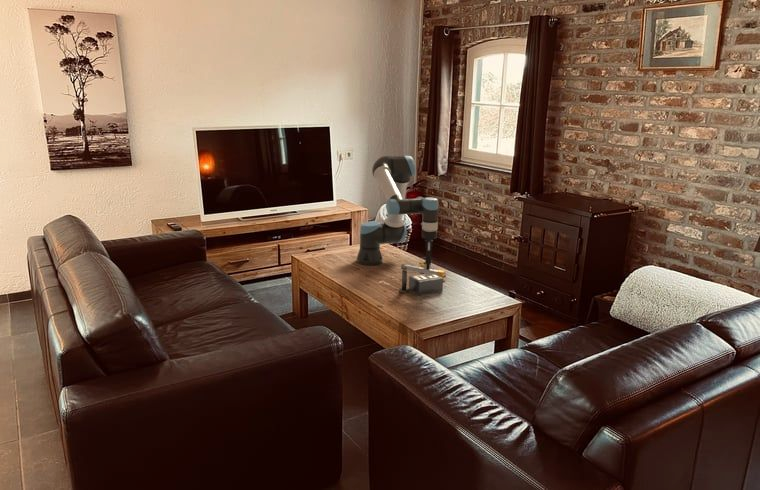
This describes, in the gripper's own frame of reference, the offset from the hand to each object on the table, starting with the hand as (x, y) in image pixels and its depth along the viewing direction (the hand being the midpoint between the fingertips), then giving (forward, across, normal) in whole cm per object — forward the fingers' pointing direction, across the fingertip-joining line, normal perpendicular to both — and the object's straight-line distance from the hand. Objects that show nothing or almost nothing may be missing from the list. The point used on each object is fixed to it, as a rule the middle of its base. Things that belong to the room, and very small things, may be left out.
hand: (427, 275), depth 290 cm
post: (+9, -1, -12) cm, 15 cm away
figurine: (+10, -25, +2) cm, 27 cm away
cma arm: (-2, +2, -3) cm, 4 cm away
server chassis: (+10, -5, -1) cm, 11 cm away
